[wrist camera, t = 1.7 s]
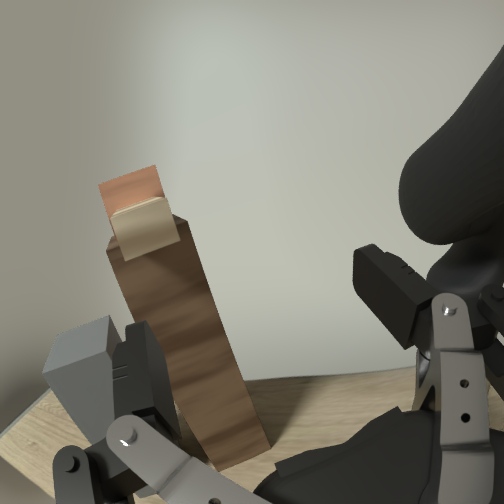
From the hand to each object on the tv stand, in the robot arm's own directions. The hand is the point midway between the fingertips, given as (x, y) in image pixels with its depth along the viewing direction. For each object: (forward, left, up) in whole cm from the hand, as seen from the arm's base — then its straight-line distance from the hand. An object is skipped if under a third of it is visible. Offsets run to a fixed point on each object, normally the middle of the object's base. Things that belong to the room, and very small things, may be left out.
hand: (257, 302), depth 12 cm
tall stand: (+5, -24, -31) cm, 40 cm away
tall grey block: (+17, -23, -31) cm, 42 cm away
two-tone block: (+4, -19, +1) cm, 20 cm away
